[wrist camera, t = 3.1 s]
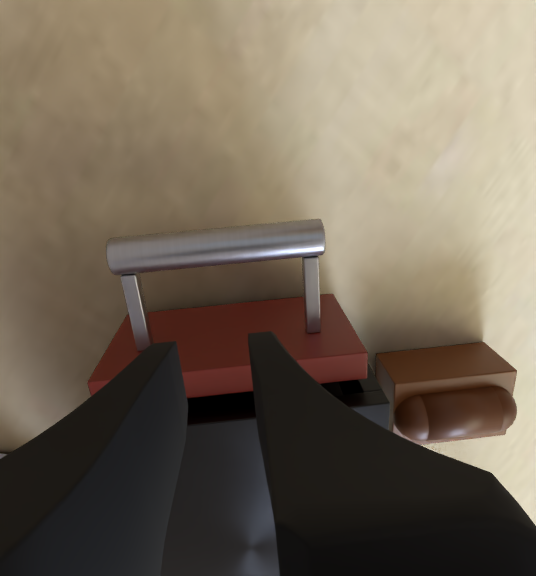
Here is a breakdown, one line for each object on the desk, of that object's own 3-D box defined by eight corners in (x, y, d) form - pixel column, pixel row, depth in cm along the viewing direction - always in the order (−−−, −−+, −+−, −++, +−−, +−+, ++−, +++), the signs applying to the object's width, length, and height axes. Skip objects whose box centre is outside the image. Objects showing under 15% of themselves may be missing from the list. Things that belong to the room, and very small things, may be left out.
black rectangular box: (126, 336, 21) (72, 438, 14) (340, 314, 22) (390, 402, 15) (169, 517, 26) (145, 658, 19) (342, 496, 27) (380, 626, 20)
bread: (373, 412, 24) (400, 467, 20) (375, 353, 23) (405, 400, 19) (475, 400, 25) (521, 452, 21) (483, 341, 23) (535, 385, 19)
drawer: (105, 221, 18) (50, 259, 13) (331, 200, 19) (370, 228, 13) (169, 497, 25) (150, 600, 19) (336, 476, 25) (363, 572, 20)
